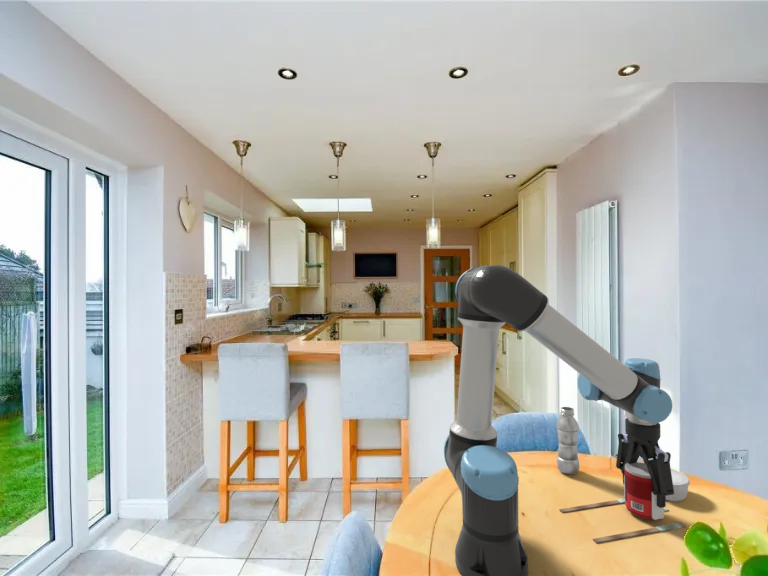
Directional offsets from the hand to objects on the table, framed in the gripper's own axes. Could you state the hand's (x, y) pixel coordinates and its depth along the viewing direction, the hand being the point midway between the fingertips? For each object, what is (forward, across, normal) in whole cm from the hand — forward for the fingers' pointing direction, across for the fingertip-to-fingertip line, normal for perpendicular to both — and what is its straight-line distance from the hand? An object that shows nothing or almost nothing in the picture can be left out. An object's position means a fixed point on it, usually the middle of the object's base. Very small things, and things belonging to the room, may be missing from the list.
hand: (643, 508), depth 102 cm
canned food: (+1, 0, 0) cm, 1 cm away
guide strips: (+2, 0, +7) cm, 7 cm away
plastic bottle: (+2, +24, +4) cm, 24 cm away
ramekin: (+2, +7, -14) cm, 16 cm away
